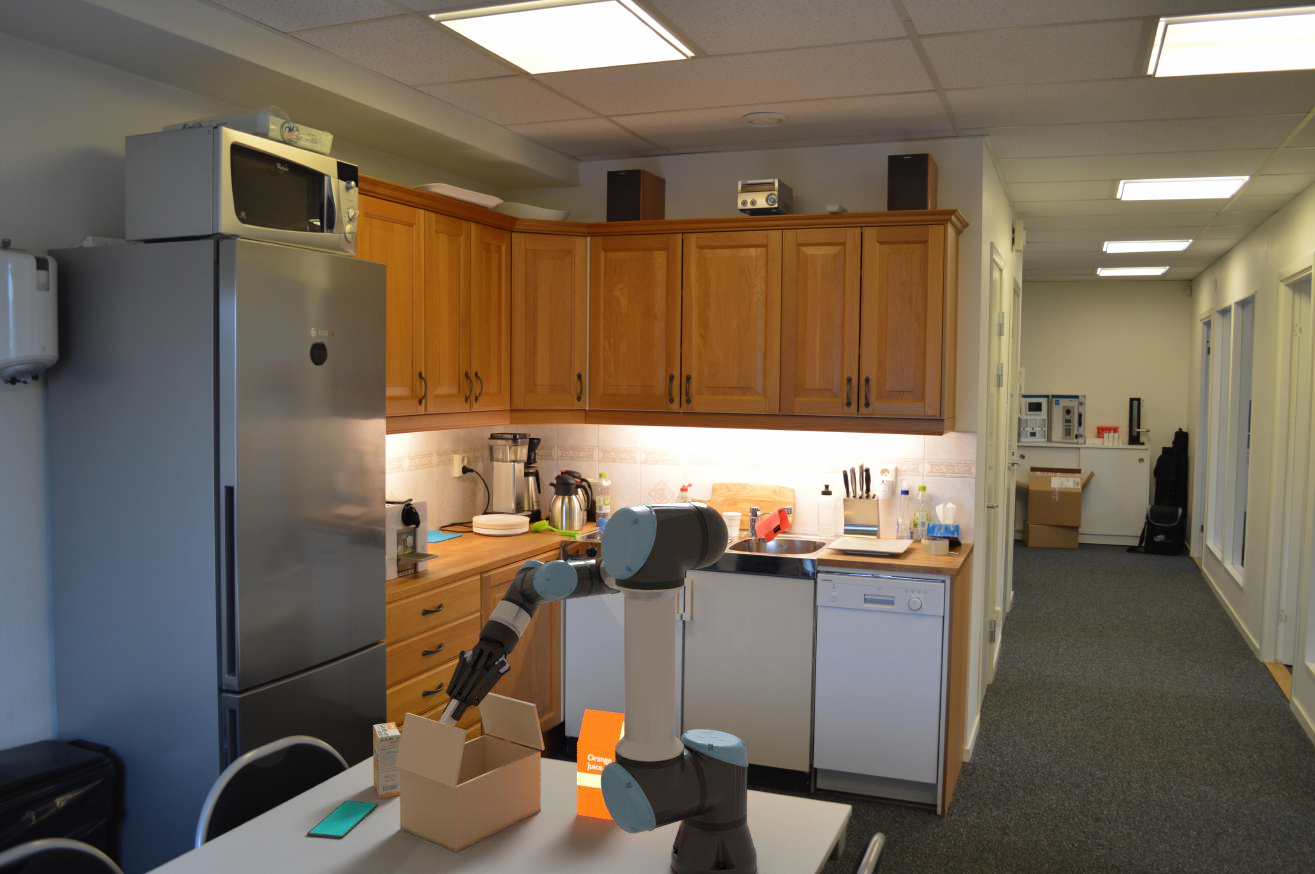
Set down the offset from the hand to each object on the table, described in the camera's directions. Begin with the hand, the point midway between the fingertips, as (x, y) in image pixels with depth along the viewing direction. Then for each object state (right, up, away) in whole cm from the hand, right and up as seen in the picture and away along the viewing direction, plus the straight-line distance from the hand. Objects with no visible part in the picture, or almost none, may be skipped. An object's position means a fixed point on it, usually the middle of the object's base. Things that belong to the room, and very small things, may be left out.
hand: (440, 733), depth 176 cm
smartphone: (-20, -20, +6) cm, 29 cm away
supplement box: (-16, -19, +20) cm, 32 cm away
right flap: (+11, -2, +14) cm, 18 cm away
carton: (+5, -19, +6) cm, 21 cm away
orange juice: (+30, -19, +11) cm, 38 cm away
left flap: (-1, -2, -2) cm, 3 cm away
